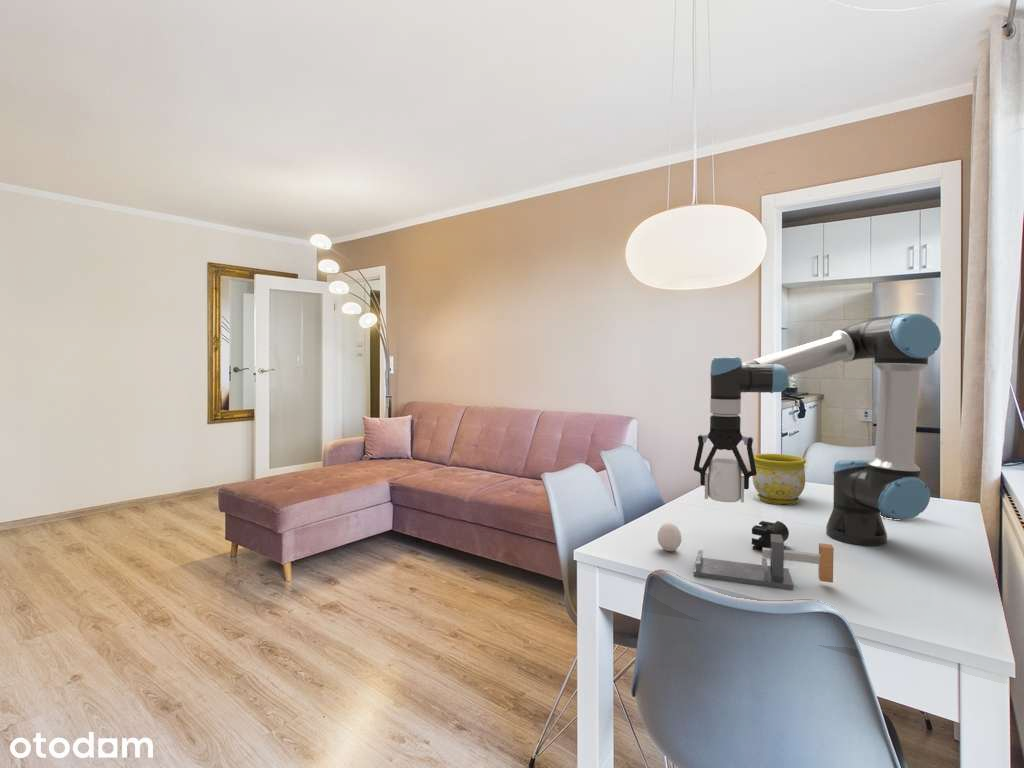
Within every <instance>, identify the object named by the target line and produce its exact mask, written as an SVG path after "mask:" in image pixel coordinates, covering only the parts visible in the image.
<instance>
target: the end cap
mask: <svg viewBox="0 0 1024 768" xmlns="http://www.w3.org/2000/svg"><path fill="white" fill-rule="evenodd" d="M789 532H790V530H789V528H788V527H787V525H786V524H784V523H783V522H782V521H779V520H776V522H769V521H764V520H761V521H759V522H758V525H757V524H755V525H754V526H752V528H751V535H755V536H759V537H758V538H754V537H751V544H752V545H753V546H752V547H751V549H752V550H755V551H759V552H762V551H763V548H771V534H777V535H782V538H783V542H784V543H785V542H786V541H787V540H788V538H789V534H790V533H789Z"/></svg>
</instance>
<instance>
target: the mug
mask: <svg viewBox="0 0 1024 768" xmlns="http://www.w3.org/2000/svg"><path fill="white" fill-rule="evenodd" d="M707 471H708V472H707V473H709V474H708V498H709V499H711V500H712V501H716V502H723V503H736V502H739V501H741V476H742V470H741V468H740V466H739V464H738V462H737V459H732V458H725V457H724V458H722V457H721V458H719V457H716V458H715V457H713V458H712V460H711V462H710V464H709V466H708V469H707Z"/></svg>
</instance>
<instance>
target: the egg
mask: <svg viewBox="0 0 1024 768" xmlns="http://www.w3.org/2000/svg"><path fill="white" fill-rule="evenodd" d="M657 542H658V544H659V546H660V547H661V548H662V549H663V550H665V551H667V552H674V551H676V550H678V548H679V547H680V546H681V544H682V534H681V531H680V529H679V527H678V526H677V525H676V524H675V523H673V522H671V521H670V522H668V521H667V522H665V523H663V524H661V526H660V528H659V530H658V531H657Z"/></svg>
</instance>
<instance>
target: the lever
mask: <svg viewBox="0 0 1024 768" xmlns="http://www.w3.org/2000/svg"><path fill="white" fill-rule="evenodd" d="M834 551H835V550H834V546H833V544H830V543H829V544H828V543H820V542H819V543H818V553H816V552H815V553H813V552H806V551H805V552H804V551H796V550H787V549H784V561H792V562H799V563H805V564H807V563H808V564H815V565H818V573H817V574H818V580H819V581H820V582H825V583H826V582H827V583H834ZM761 552H762V553H761V554H762V558H766V559H770V558H772V548H763V551H761Z"/></svg>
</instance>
